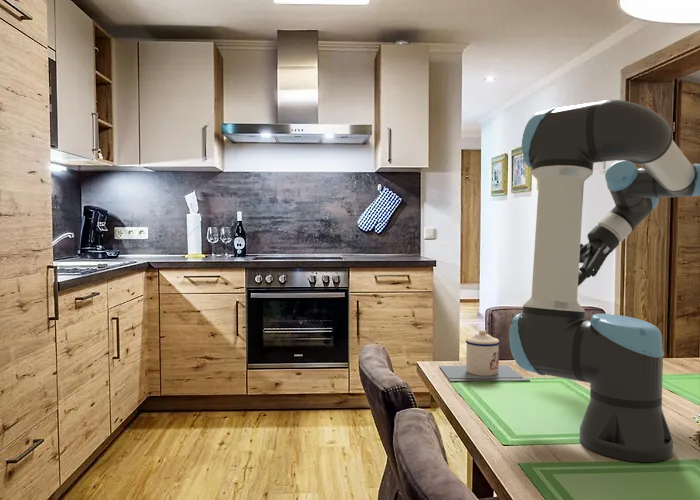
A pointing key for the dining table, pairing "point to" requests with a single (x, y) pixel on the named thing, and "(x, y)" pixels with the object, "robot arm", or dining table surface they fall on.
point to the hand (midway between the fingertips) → (552, 290)
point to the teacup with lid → (482, 354)
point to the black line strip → (490, 379)
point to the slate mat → (462, 373)
